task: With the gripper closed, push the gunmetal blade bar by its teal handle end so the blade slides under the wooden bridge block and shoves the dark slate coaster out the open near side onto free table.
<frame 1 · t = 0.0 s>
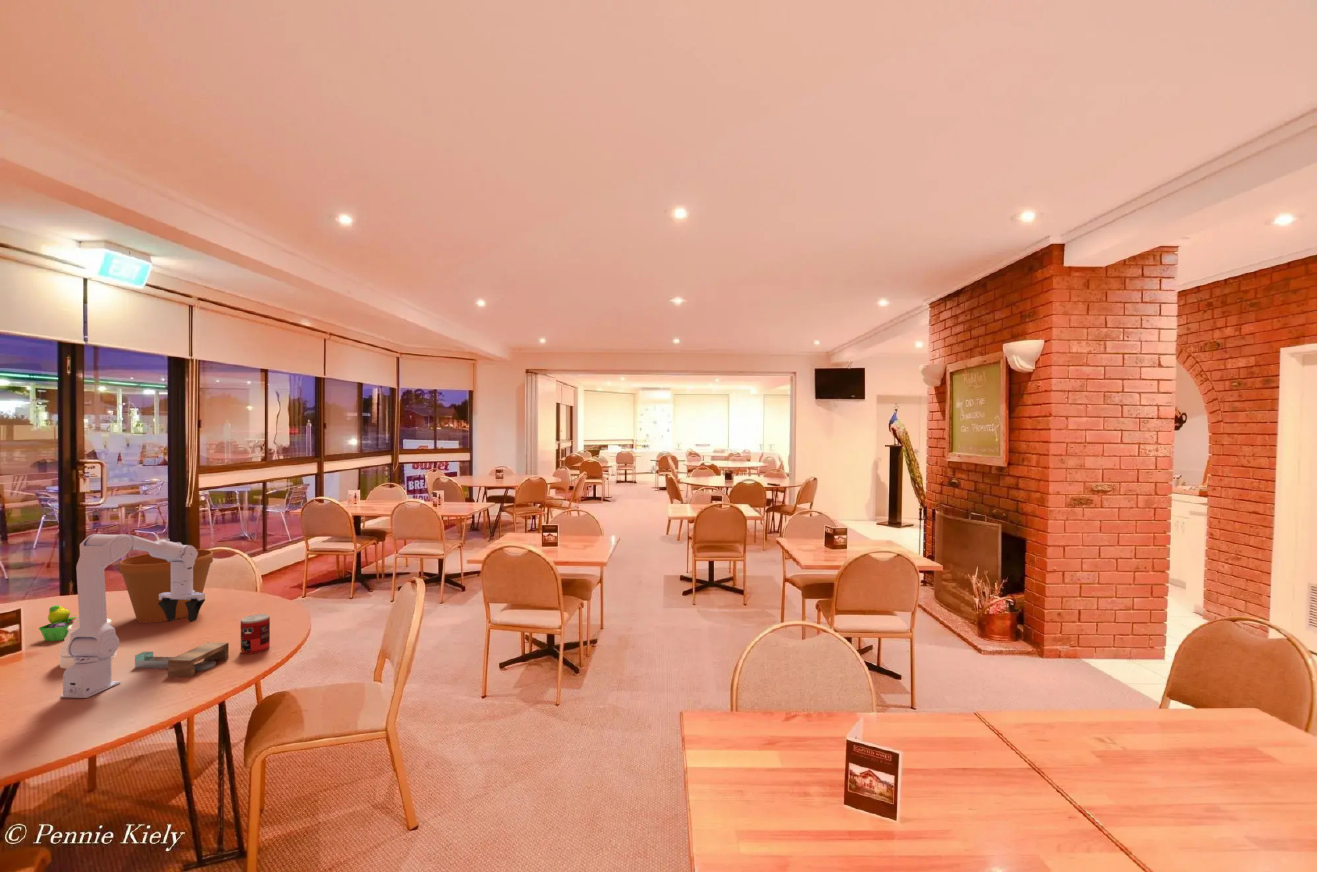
hand: (182, 620, 187), 10 cm above the table, fingers open, 7 cm apart
canned food: (255, 650, 188), on the table
flowerpot: (168, 615, 222), on the table
fruit basket: (63, 636, 199), on the table
slate coaster: (204, 668, 174), on the table
wooden bridge block: (199, 666, 174), on the table
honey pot: (88, 660, 179), on the table
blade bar: (162, 667, 174), on the table
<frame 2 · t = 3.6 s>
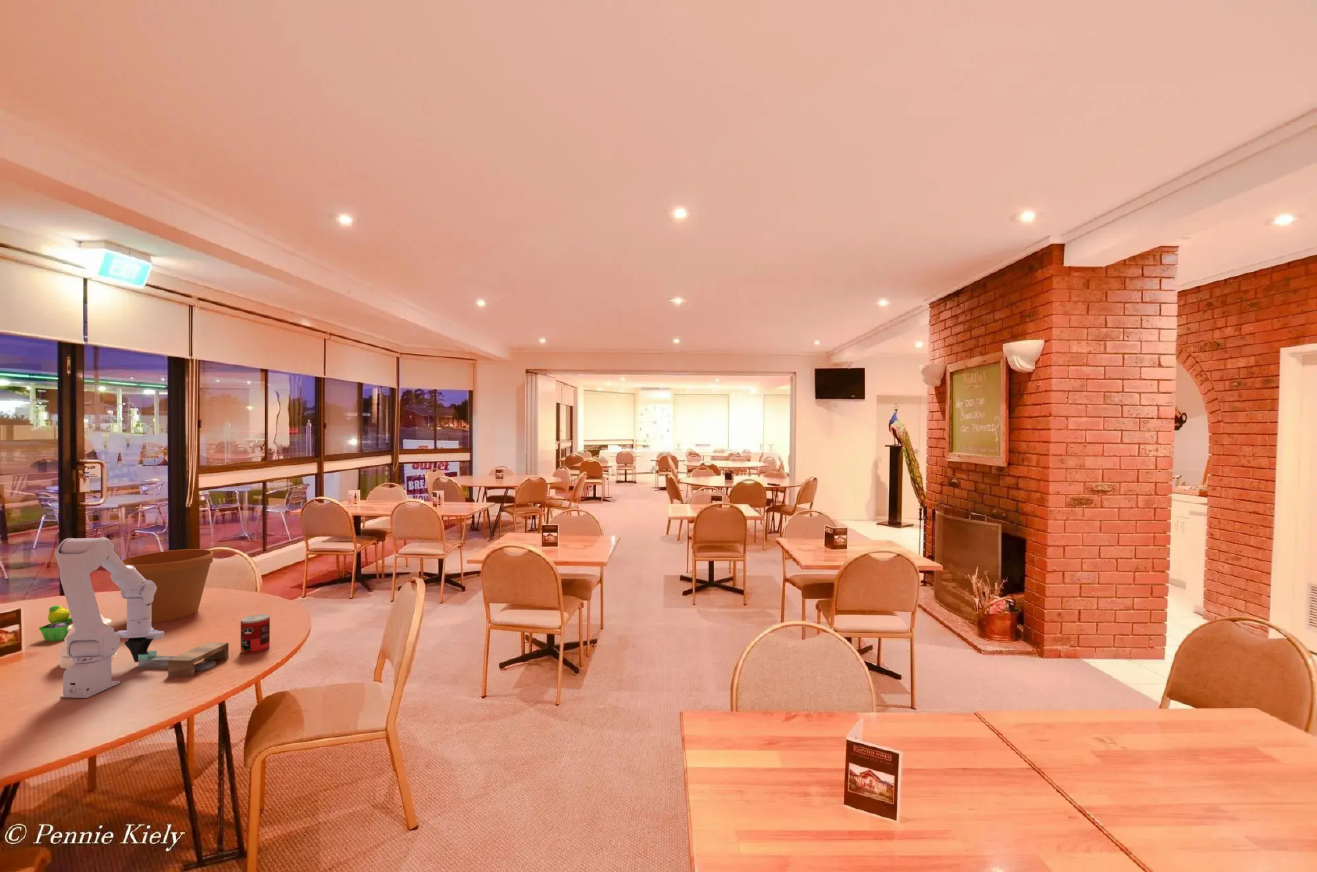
hand: (139, 660, 175), 1 cm above the table, fingers closed
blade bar: (166, 666, 174), on the table, touching gripper
everything else where it was.
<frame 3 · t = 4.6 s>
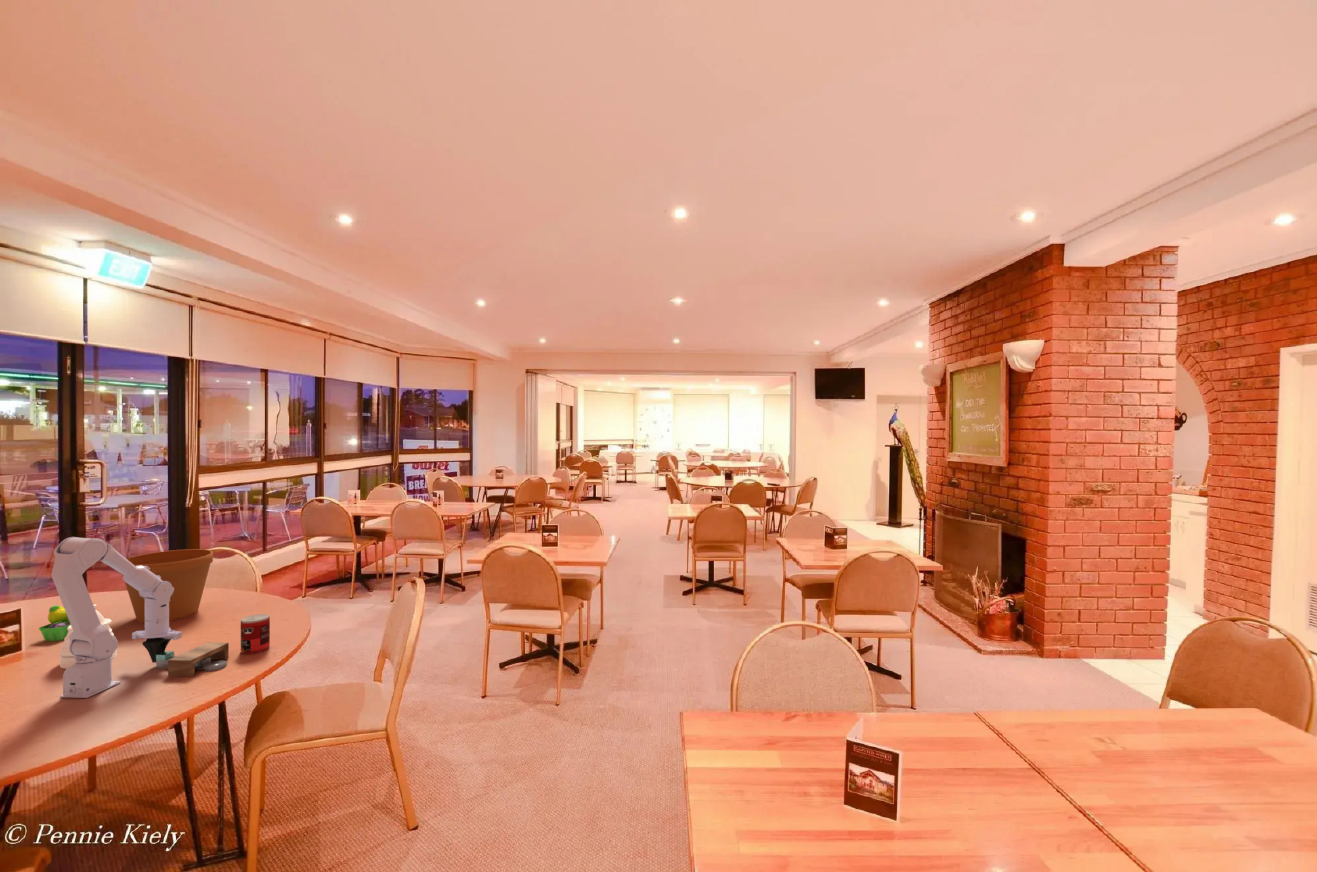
hand: (157, 661, 175), 1 cm above the table, fingers closed
slate coaster: (215, 667, 174), on the table, touching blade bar
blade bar: (183, 666, 174), on the table, touching gripper, slate coaster
everything else where it was.
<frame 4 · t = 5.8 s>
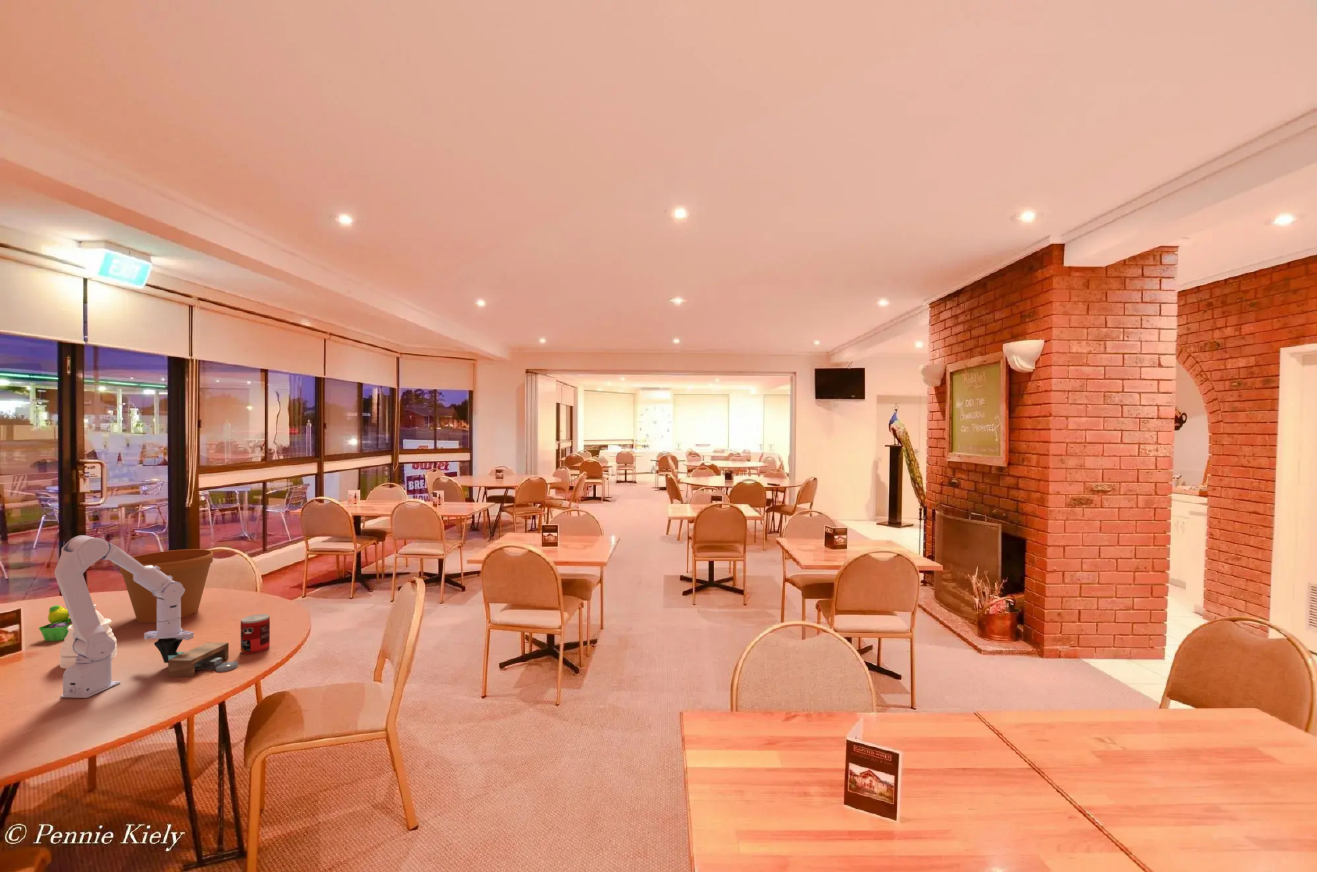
hand: (169, 661, 174), 1 cm above the table, fingers closed
slate coaster: (227, 668, 173), on the table
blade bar: (195, 667, 174), on the table, touching gripper
everything else where it was.
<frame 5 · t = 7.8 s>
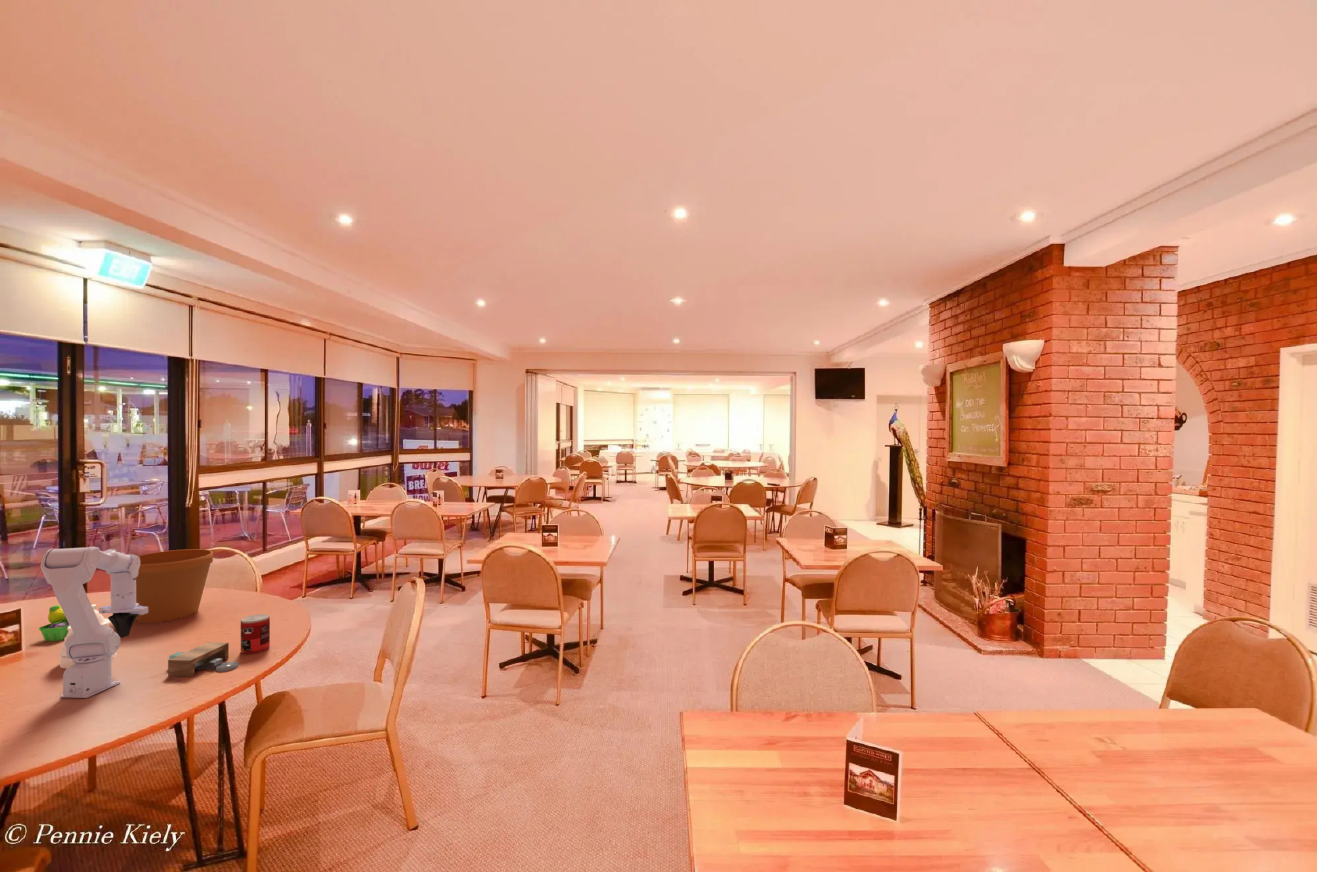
hand: (123, 636, 173), 10 cm above the table, fingers closed
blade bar: (196, 667, 174), on the table
everything else where it was.
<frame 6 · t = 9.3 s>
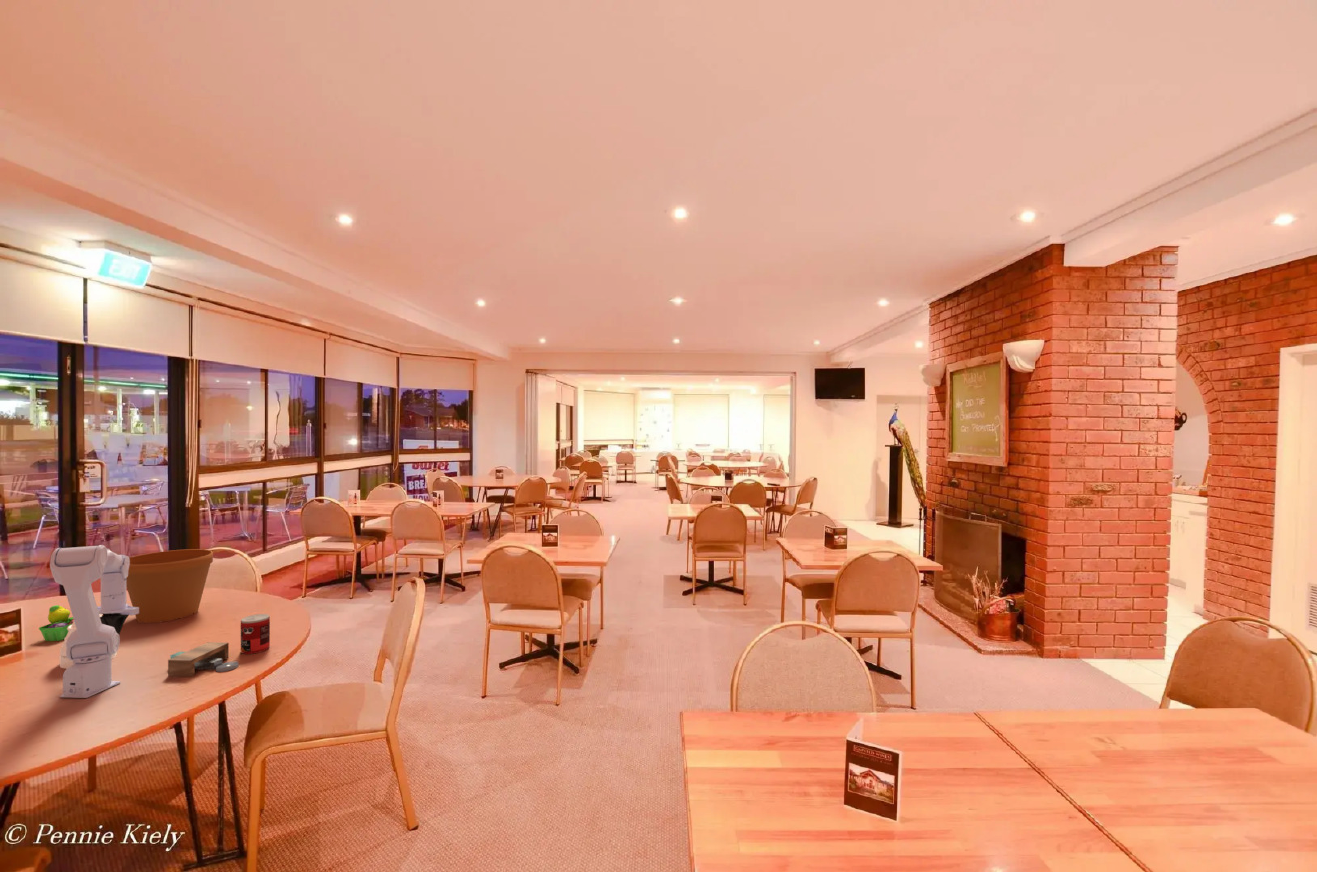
hand: (113, 637, 172), 10 cm above the table, fingers closed
nothing on the table moved.
at the end: slate coaster inside the target area on the table beside the wooden bridge block (3.7 cm from its centre), on the table; slate coaster tilted 0° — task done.
